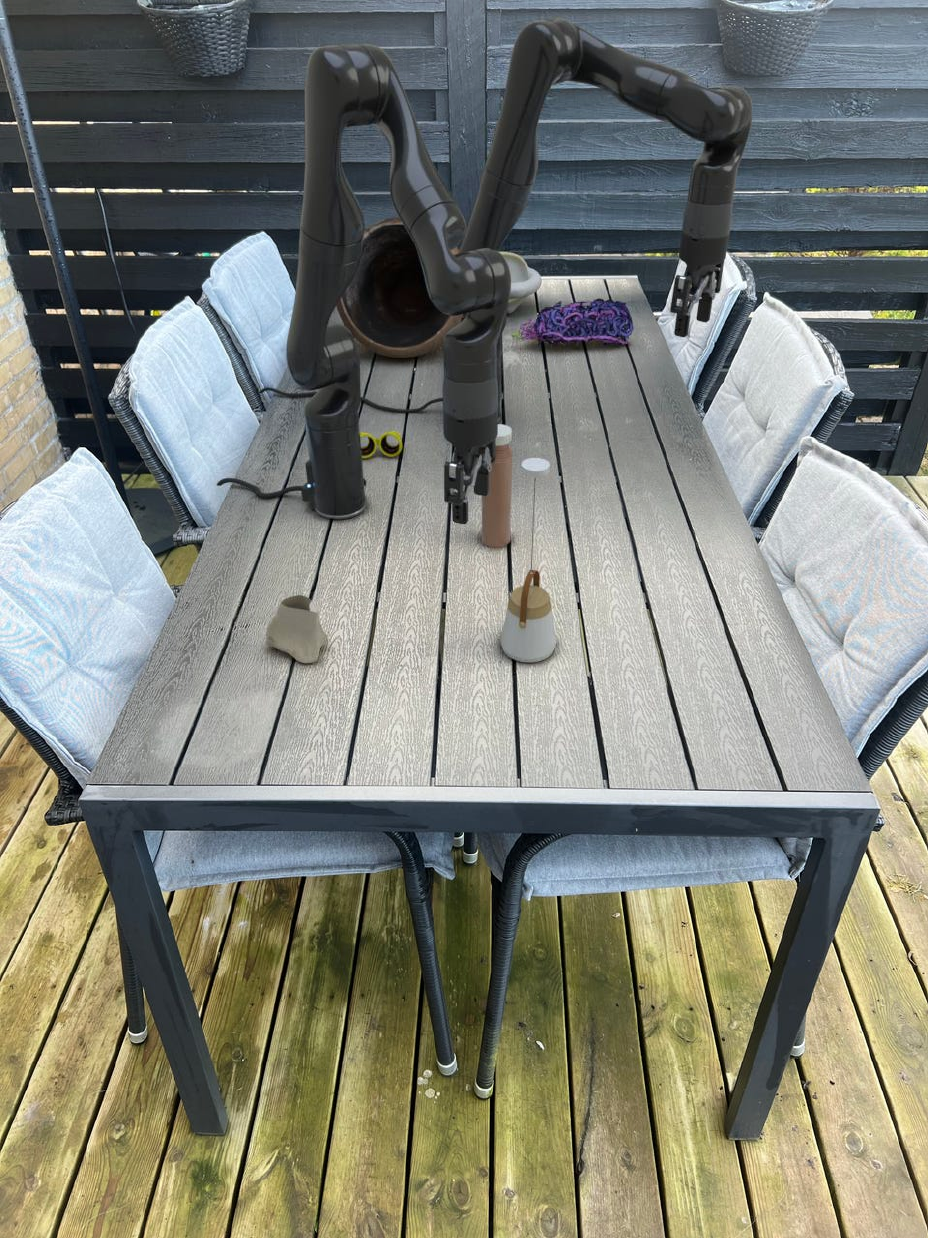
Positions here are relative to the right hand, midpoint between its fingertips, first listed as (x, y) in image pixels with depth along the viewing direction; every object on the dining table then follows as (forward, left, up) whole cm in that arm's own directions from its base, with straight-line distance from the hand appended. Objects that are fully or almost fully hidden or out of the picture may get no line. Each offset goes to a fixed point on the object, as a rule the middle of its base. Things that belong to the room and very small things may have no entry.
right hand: (691, 328), depth 160 cm
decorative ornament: (-51, +47, -29) cm, 75 cm away
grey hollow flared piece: (-21, -79, -29) cm, 87 cm away
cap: (-15, -37, -9) cm, 41 cm away
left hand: (-7, -54, -12) cm, 56 cm away
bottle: (-15, -37, -29) cm, 49 cm away
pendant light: (+6, -58, -29) cm, 65 cm away
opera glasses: (-52, -25, -29) cm, 65 cm away
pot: (-86, +26, -29) cm, 94 cm away
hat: (-80, +58, -29) cm, 104 cm away
